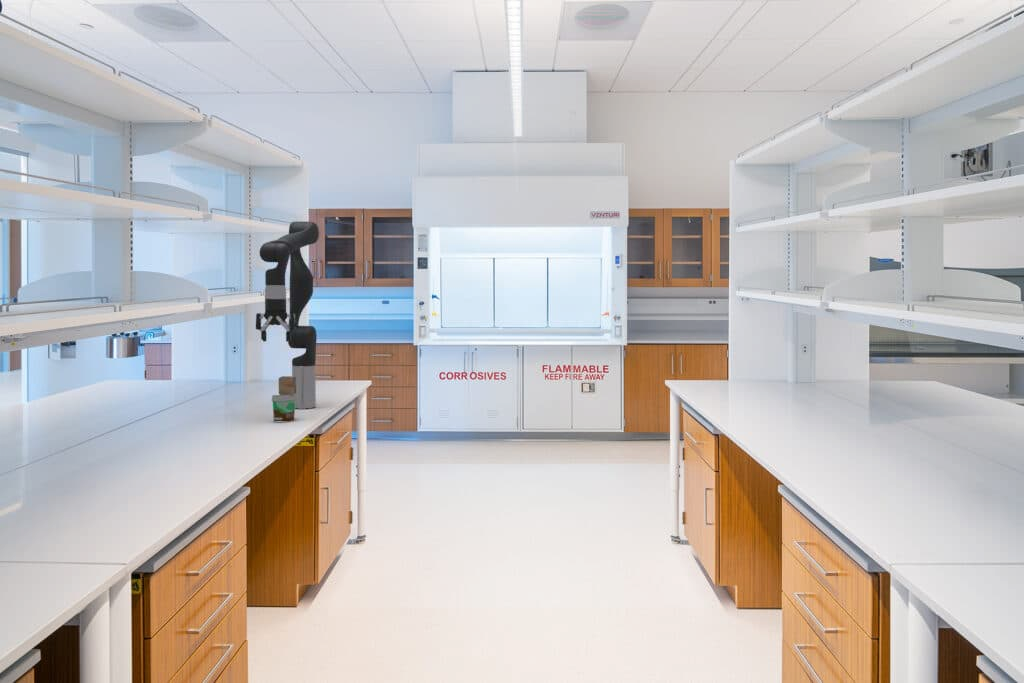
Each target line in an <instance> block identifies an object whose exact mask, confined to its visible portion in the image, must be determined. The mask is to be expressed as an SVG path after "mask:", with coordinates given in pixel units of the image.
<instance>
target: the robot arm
mask: <svg viewBox="0 0 1024 683" xmlns="http://www.w3.org/2000/svg"><path fill="white" fill-rule="evenodd" d="M319 237H320V229H319V226H318V225H317V223H315V222H314V221H292V222H290V224H289V228H288V234H285V235H282V236H281V237H279V238H277V239H276V240H275V239H274V240H270V241H266V242H264V243H263V244H262V245H261V247H260V248H259V257H260V259H261V260H262V261H263V262H264V263H276V264H277V265H276V266H275V267H274V268H268V269H267V270H265V273H264V277H265V282H264V285H265V288H264V313H261V312H258V313H256V315H255V330H258V331H260V333H261V334H260V339H261V340H262V341H263V342H267V329H268V327H269V326H275V325H276V326H282V327H283V328H284V329H285V330H286V331H285V341H286V342H287V343H288V346H289V348H290V349H301V350H303V349H305V352H304V353H302V354H301V355H299V356H296V357H293V358H292V360H291V376H296V395H297V399H295V409H296V408H298V409H299V410H306V408H308V409H314V408H316V407H317V403H316V400H317V399H316V395H317V393H316V391H317V390H316V388H317V387H316V381H317V379H316V378H317V377H316V373H317V372H316V359H317V358H316V357H317V329H316V328H315V326H312V325H299V324H300V323H299V322H300V318H301V315H302V313H303V311H304V310H305V308H306V306H307V305H308V303H309V301H310V300H311V298H312V297H313V294H314V277H313V276H314V275H313V274H312V272H311V270H310V268H309V266H308V265H307V264H306V262H305V260H304V258H303V255H302V250H301V248H303V247H307V246H309V245H313V244H316V243H317V242H318V240H319ZM289 260H290V261H289ZM288 264H289V266H290V268H289V313H288V312H287V289H286V272H287V267H288ZM263 319H265V320H266V321H265V322H264V323H263V325H262V320H263ZM287 319H288V322H287V321H286V320H287ZM313 407H314V408H313Z"/></svg>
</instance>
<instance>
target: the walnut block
mask: <svg viewBox="0 0 1024 683" xmlns="http://www.w3.org/2000/svg"><path fill="white" fill-rule="evenodd" d="M294 393H296V376H292V375H291V376H286V375H283V376H280V377H278V395H280V394H294Z"/></svg>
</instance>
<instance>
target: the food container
mask: <svg viewBox="0 0 1024 683" xmlns="http://www.w3.org/2000/svg"><path fill="white" fill-rule="evenodd" d="M295 399H297V395H296V393H294V394H272V396H271V402H272V409H273V410H272V412H273V422H274V421H288V422H292V421H291V420H293V421H294V420H295V410H296V408H295Z"/></svg>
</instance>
